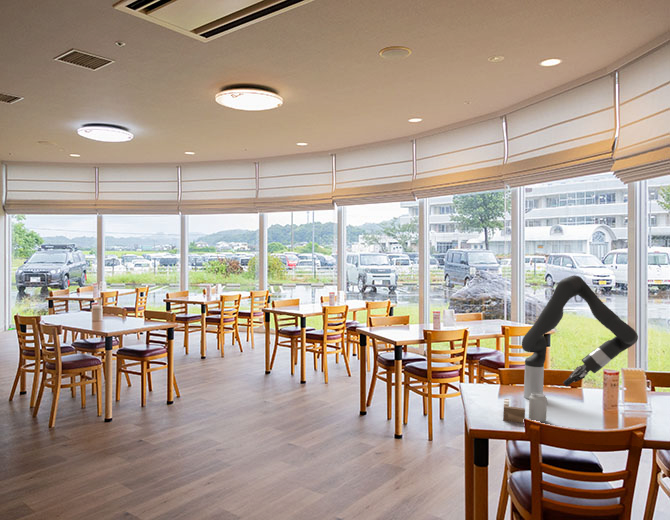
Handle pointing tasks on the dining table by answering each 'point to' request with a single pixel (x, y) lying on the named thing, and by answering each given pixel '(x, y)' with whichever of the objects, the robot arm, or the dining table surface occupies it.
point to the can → (537, 407)
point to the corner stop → (513, 413)
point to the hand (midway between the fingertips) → (564, 384)
